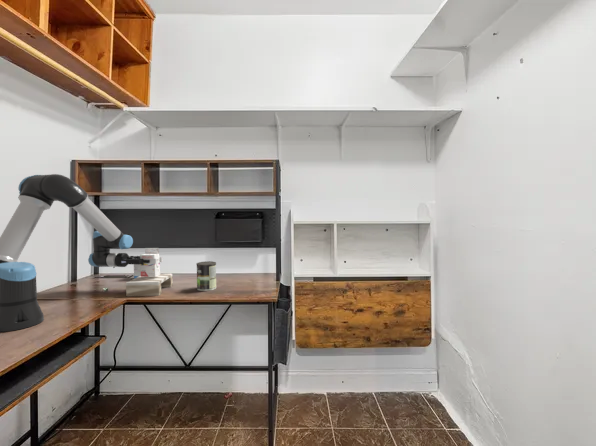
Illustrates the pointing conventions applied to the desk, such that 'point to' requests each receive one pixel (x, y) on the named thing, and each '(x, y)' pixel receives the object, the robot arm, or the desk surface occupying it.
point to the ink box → (137, 270)
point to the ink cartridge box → (150, 269)
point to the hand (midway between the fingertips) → (159, 260)
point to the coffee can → (206, 276)
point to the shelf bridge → (148, 285)
